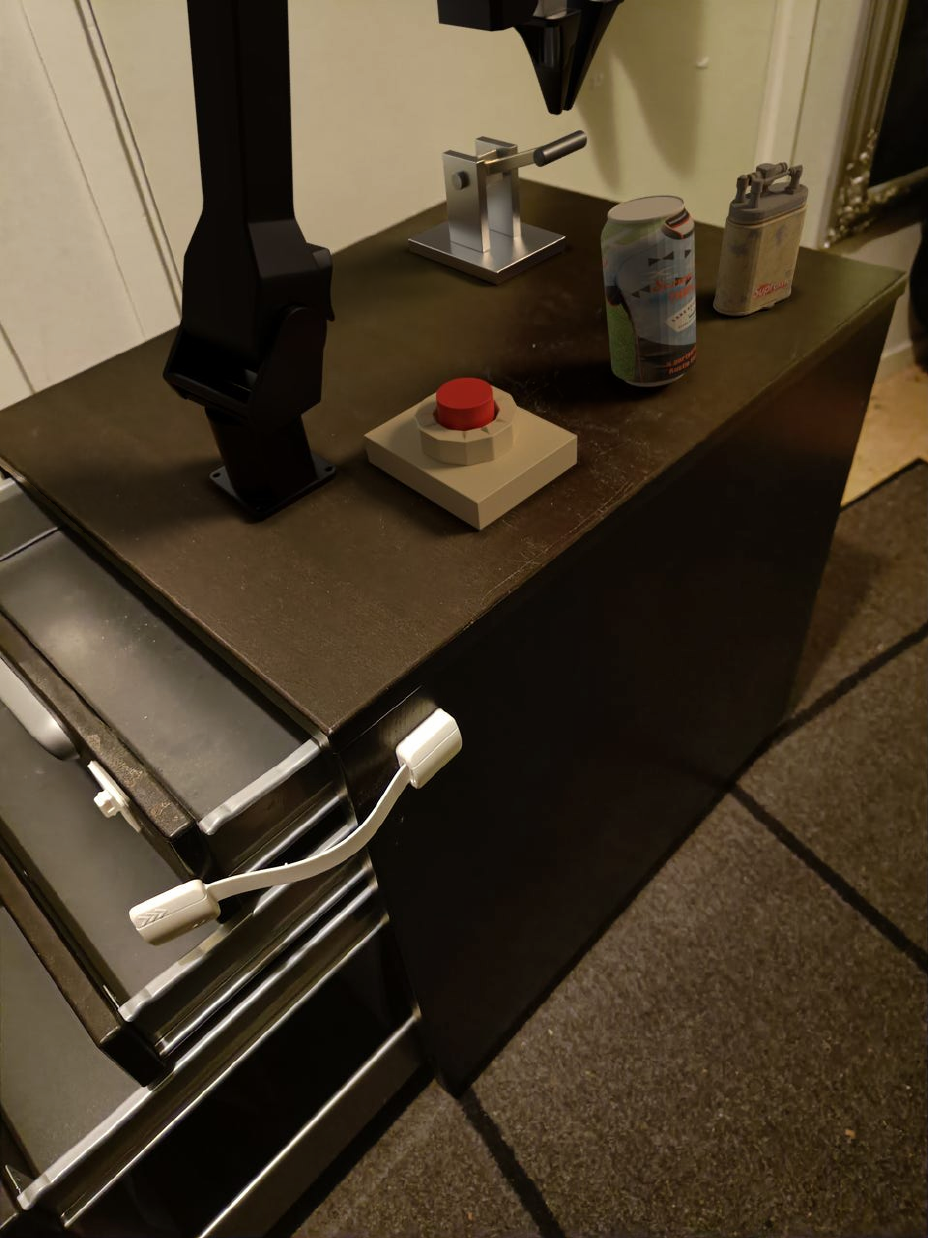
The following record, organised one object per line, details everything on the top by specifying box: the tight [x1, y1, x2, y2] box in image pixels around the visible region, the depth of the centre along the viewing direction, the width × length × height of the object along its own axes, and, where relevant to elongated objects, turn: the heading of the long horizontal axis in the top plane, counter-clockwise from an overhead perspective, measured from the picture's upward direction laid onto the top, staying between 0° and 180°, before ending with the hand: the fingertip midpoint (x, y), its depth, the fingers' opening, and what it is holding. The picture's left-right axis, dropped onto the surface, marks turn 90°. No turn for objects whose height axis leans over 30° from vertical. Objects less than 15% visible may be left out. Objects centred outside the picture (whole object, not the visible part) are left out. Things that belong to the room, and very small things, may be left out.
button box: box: [363, 385, 578, 531], centre depth 55 cm, size 11×9×4 cm
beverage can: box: [600, 194, 697, 388], centre depth 57 cm, size 6×7×12 cm
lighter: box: [712, 161, 809, 317], centre depth 64 cm, size 7×4×10 cm, turn 122°
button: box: [435, 377, 494, 431], centre depth 53 cm, size 4×4×2 cm
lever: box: [473, 129, 588, 187], centre depth 70 cm, size 12×5×2 cm, turn 43°
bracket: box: [407, 135, 567, 286], centre depth 76 cm, size 12×9×9 cm
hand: (560, 111), depth 64 cm, fingers closed
